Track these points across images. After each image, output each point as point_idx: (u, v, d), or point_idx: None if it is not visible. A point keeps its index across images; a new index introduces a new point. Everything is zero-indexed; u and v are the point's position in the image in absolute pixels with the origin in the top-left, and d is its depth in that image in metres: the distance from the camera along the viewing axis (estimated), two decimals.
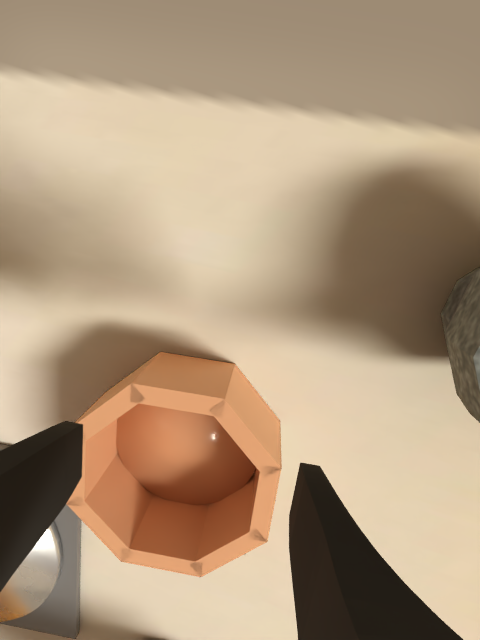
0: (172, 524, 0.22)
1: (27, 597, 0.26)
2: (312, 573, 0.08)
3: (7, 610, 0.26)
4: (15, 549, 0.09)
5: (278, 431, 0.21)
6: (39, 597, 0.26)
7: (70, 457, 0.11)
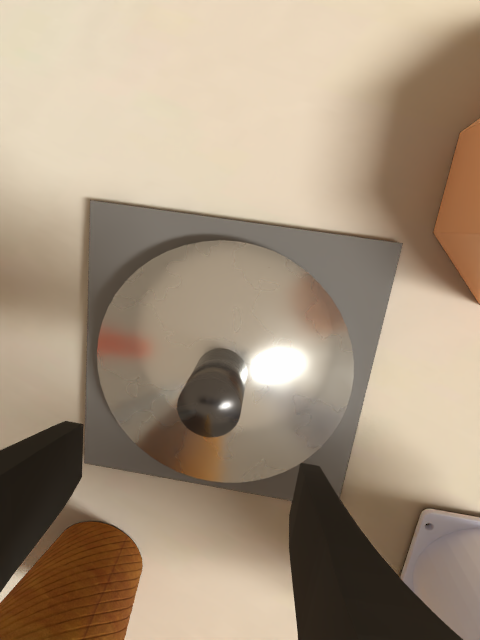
0: None
1: (297, 443, 0.20)
2: (312, 573, 0.08)
3: (265, 463, 0.21)
4: (15, 549, 0.09)
5: None
6: (315, 442, 0.20)
7: (70, 457, 0.11)
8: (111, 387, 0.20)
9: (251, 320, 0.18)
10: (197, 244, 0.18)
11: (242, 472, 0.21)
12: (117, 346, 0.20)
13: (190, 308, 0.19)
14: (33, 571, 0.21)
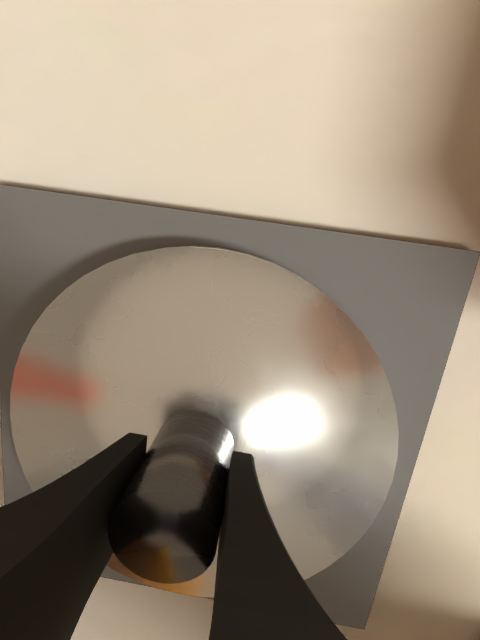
0: None
1: (309, 547, 0.13)
2: (221, 556, 0.08)
3: None
4: (95, 565, 0.09)
5: None
6: (336, 547, 0.13)
7: None
8: (34, 463, 0.14)
9: (239, 370, 0.12)
10: (153, 252, 0.11)
11: None
12: (39, 405, 0.13)
13: (146, 351, 0.12)
14: None
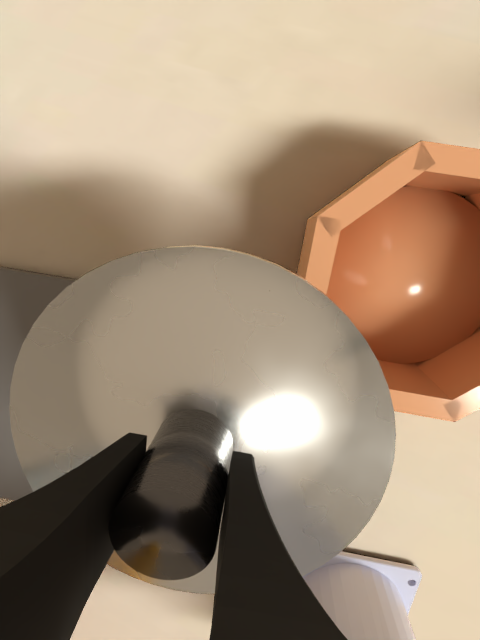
0: (394, 373, 0.18)
1: (305, 546, 0.14)
2: (222, 556, 0.08)
3: None
4: (95, 565, 0.09)
5: None
6: (331, 545, 0.14)
7: None
8: (32, 458, 0.14)
9: (240, 370, 0.12)
10: (157, 251, 0.11)
11: None
12: (39, 401, 0.13)
13: (148, 350, 0.12)
14: None
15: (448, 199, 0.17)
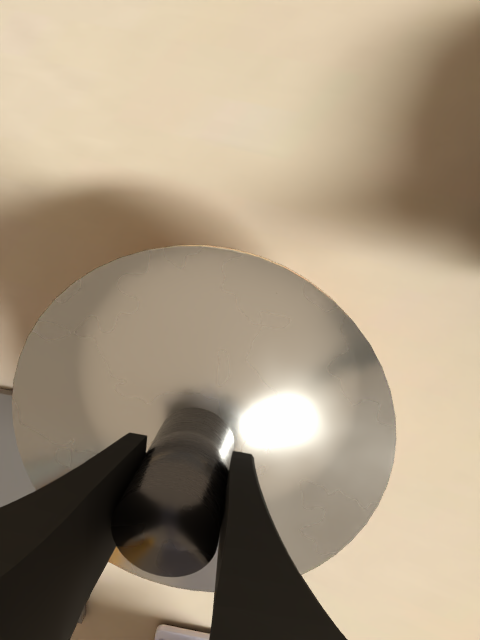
0: None
1: (302, 546, 0.14)
2: (221, 556, 0.08)
3: None
4: (95, 565, 0.09)
5: None
6: (328, 547, 0.14)
7: None
8: (33, 452, 0.14)
9: (244, 371, 0.12)
10: (166, 250, 0.11)
11: None
12: (42, 395, 0.13)
13: (153, 347, 0.12)
14: None
15: None
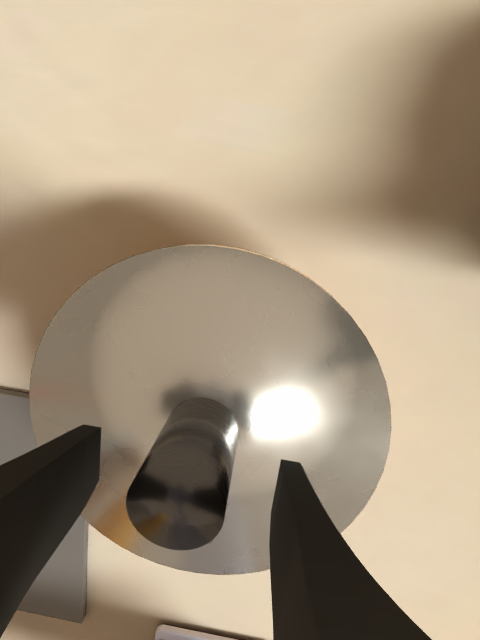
0: None
1: None
2: (286, 568, 0.08)
3: (256, 553, 0.15)
4: (38, 554, 0.09)
5: None
6: None
7: (89, 461, 0.11)
8: (48, 439, 0.15)
9: (248, 362, 0.13)
10: (176, 249, 0.12)
11: (225, 562, 0.15)
12: (58, 385, 0.14)
13: (163, 340, 0.13)
14: None
15: None
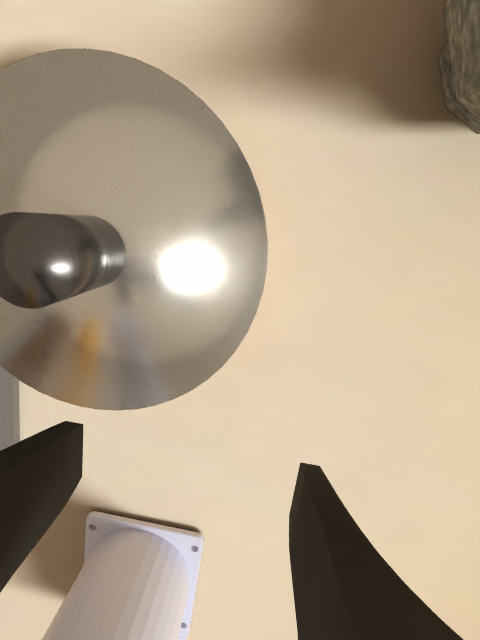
0: None
1: (192, 358, 0.15)
2: (312, 573, 0.08)
3: (150, 385, 0.16)
4: (15, 549, 0.09)
5: None
6: (215, 358, 0.15)
7: (70, 457, 0.11)
8: None
9: (129, 175, 0.13)
10: (54, 53, 0.13)
11: (122, 396, 0.16)
12: None
13: (48, 154, 0.13)
14: None
15: None
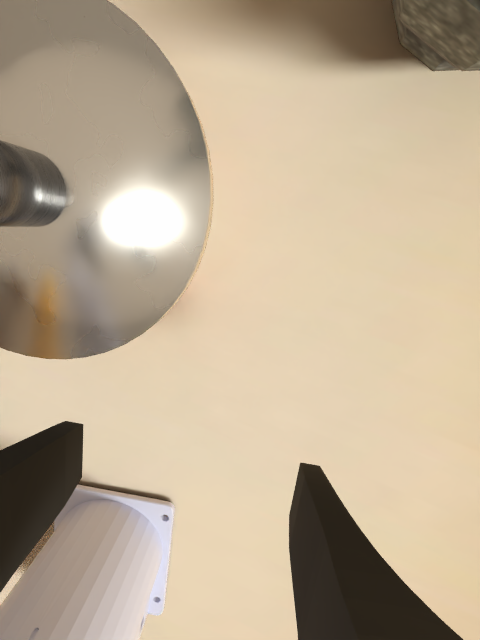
0: None
1: (139, 300, 0.15)
2: (312, 573, 0.08)
3: (99, 331, 0.15)
4: (15, 549, 0.09)
5: None
6: (162, 299, 0.14)
7: (70, 457, 0.11)
8: None
9: (65, 105, 0.13)
10: None
11: (70, 344, 0.15)
12: None
13: None
14: None
15: None
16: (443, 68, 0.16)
